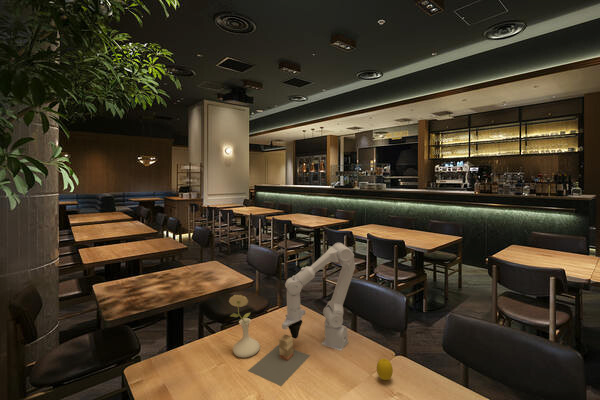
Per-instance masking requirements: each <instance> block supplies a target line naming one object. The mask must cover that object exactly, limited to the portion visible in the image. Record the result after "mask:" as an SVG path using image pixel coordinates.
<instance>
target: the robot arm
mask: <svg viewBox="0 0 600 400" xmlns="http://www.w3.org/2000/svg"><path fill="white" fill-rule="evenodd" d="M329 263H340V265H341V269H340V271H339V276H338V278H337V281H336V284H335V288H334V290H333V293H332V296H331V300H329V301H328V302H327V304H326V306H325V307H323V310H322V314H323V316H324V318H325V320H324V340H323V341H322V342H321V345H322V346H325V347H329V348H331V349H334V350H337V351H339V352H341V351H343V349H344V348H345V347H346V345H348V343H349V339H348V338H349V337H348V335H349V333H348V327H347V326H345V325H343V323H344V318H343V317H344V306H343V305H344V302H345V299H346V297H347V293H348V290H349V287H350V284H351V282H352V278H353V275H354V272H355V270H356V262H355V254H354V252H353V250H352V249H351V248H349V247H347V246H346V245H345V244H344V243H342V242H336V243H334V244H333V245H332V246H330V247H329V248H328V249H327V250H326V251H325V253H323V254H322V255H321V256H320V257H319V258H318V259H317V260H316V261H314V262H313V263H312V264H311V265H310V266H307V265H306V266H305V267H302V268H300V271H299V272H297V273H296V274H295V275H292V277H289V278H288V279H286V281H285V283H284V286H285V288H286V314H285V319H284V321H283V323H282V324H281V328H282V329H283V330H287V329H289V332H290V336H291V337H293V339H298V338H299V333H300V329H301V326H302V324H303V320H302V318H303V316H306V310H305V309H301V308H302V307H301V294H300V293H301V292H302V288H304V287H305V286H306V285H307V284H308V283H310V282H311V281H312V280H313V279H314V278H315V277H316V273H317V272H319V271H320V270H322V269H323V268H324V267H326V266H327V265H328V264H329Z"/></svg>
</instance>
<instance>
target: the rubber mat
mask: <svg viewBox="0 0 600 400" xmlns="http://www.w3.org/2000/svg"><path fill="white" fill-rule="evenodd" d="M310 357H311V355H310V354H307V353H306V352H302V351H299V350H296V349H295V348H293V356H292V357H291V358H290V359H289V360H288V361H287V360H284V359H282V358H280V350H279V344H277V345H276V346H275V347H274V348H272V350H270V351H269V352H267V353H266V354H265V355H264V356H263V357H262V358H261V359H260V360H259V361H257V362H256V363H255V364H254V365H252V367H250V368H249V369H247V371H248V372H249V373H252V374H254V375H255V376H258V377H259V378H262V379H264V380H267V381H268V382H271V383H273V384H276V386H277V385H278V386H280V387H282V386H283V385H284V384H285V383H286V382H288V380H289V378H291V377H292V376H293V375H294V373H295V372H296V371H297V370H298V369H299V368H300V367H301V366H302V365H303V364H304V363H305V362H306V361H307V360H308V359H309V358H310Z"/></svg>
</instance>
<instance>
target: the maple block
mask: <svg viewBox="0 0 600 400" xmlns="http://www.w3.org/2000/svg"><path fill="white" fill-rule="evenodd" d="M278 345H279V350H280V358H282V359H284V360H287V361H288V360H289V359H290V358H291V357H292V356H293V349H294V338H293V337H292V335H288V334H283V335H282V336H281V337H280V338H279V339H278Z"/></svg>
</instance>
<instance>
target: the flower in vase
mask: <svg viewBox="0 0 600 400" xmlns="http://www.w3.org/2000/svg"><path fill="white" fill-rule="evenodd" d="M228 302H229V304H230V305H231V306H234V307H237V313H234V312H233V313H232V314H230V315H229V317H231V318H232V317H234V318H238V317H240V319H239V321H238V323H239V324H240V325H241V328H242V338H241V339H239V340H238V341H237V342H236V343H235V344H234V346H233V348H232V352H233V354H234V355H235V356H236V357H239V358H249V357H252V356H254V355H256V354H257V353H258V352H259V350H260V348H261V345H260V343H259V341H257V340H256V339H254V338H253V337H251V336H250V335H249V326H250V324H251V322H252V319H250V318H248V317H249V316H250V315H251V312H247V313H245V314H244V315H243V316H241V315H240V311H239V310H240V308H242V307H245V306H247V305H248V303H249V299H248V297H246V296H245V295H242V294H234V295H233V296H231V297H229V300H228Z"/></svg>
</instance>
